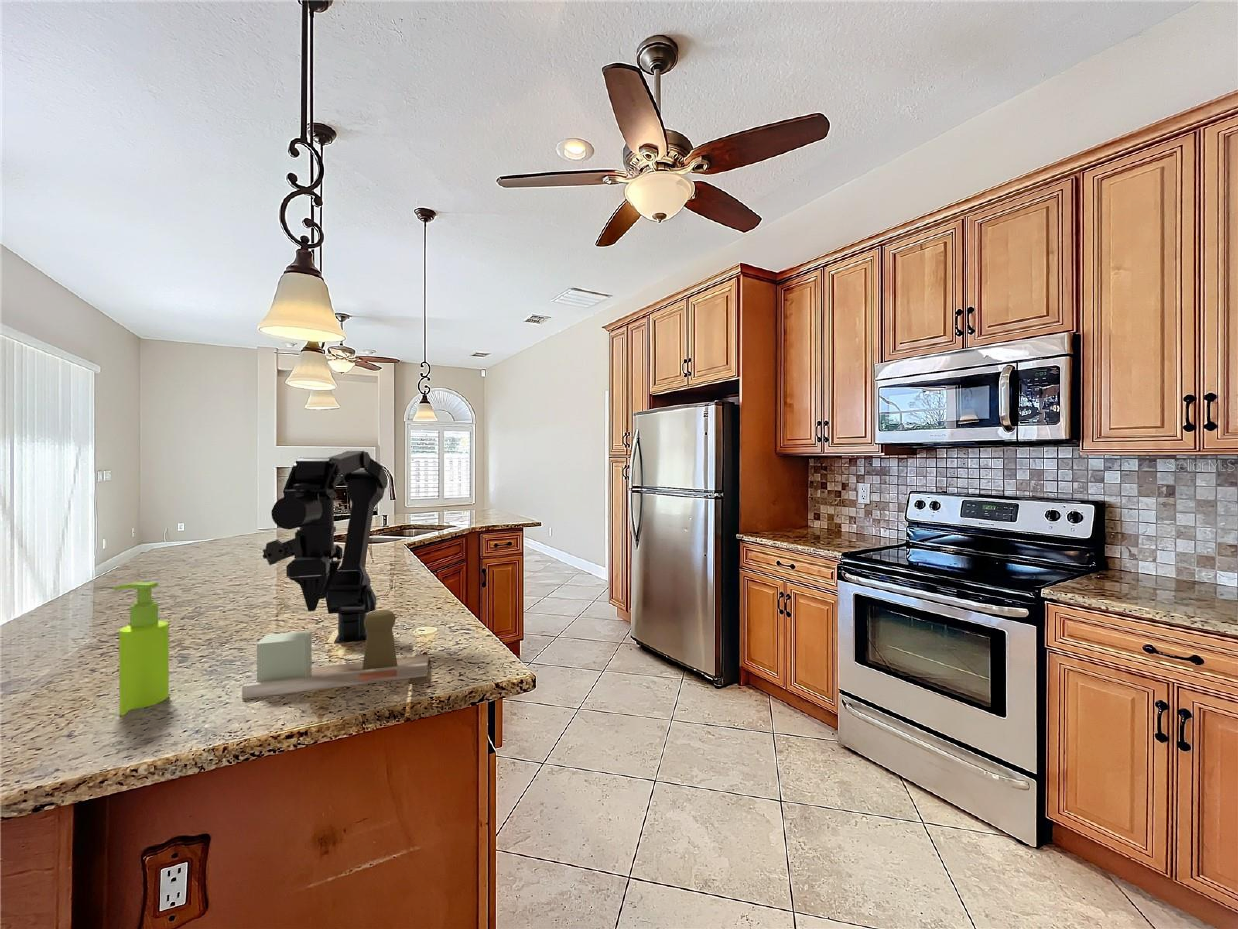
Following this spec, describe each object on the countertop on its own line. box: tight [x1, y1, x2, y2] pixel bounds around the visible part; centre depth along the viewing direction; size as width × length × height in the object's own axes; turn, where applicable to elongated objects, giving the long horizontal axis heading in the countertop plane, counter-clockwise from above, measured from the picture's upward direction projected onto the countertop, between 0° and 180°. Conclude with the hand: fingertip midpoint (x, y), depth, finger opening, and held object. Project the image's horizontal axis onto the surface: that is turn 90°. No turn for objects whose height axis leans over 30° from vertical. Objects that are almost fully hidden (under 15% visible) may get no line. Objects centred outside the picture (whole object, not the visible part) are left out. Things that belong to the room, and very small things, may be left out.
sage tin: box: [256, 630, 313, 682], centre depth 91 cm, size 5×7×8 cm
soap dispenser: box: [112, 581, 170, 717], centre depth 85 cm, size 6×7×20 cm
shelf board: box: [241, 654, 429, 700], centre depth 95 cm, size 11×28×3 cm, turn 109°
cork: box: [362, 609, 398, 670], centre depth 96 cm, size 6×6×11 cm
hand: (317, 604), depth 102 cm, fingers open, 9 cm apart
